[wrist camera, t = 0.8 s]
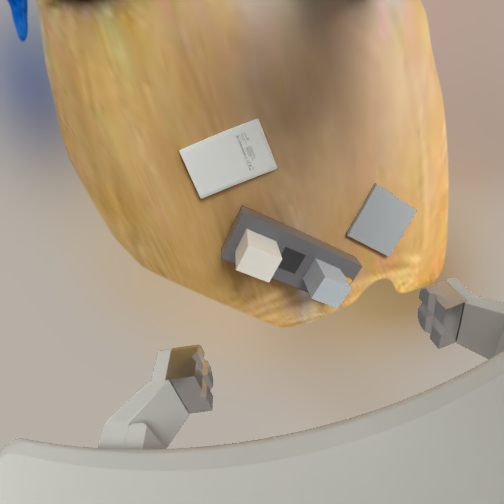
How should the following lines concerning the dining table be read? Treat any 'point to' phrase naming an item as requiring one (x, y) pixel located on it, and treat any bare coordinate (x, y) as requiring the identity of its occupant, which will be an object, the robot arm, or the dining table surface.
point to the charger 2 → (326, 283)
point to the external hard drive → (228, 158)
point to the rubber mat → (381, 221)
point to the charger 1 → (257, 256)
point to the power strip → (288, 248)
